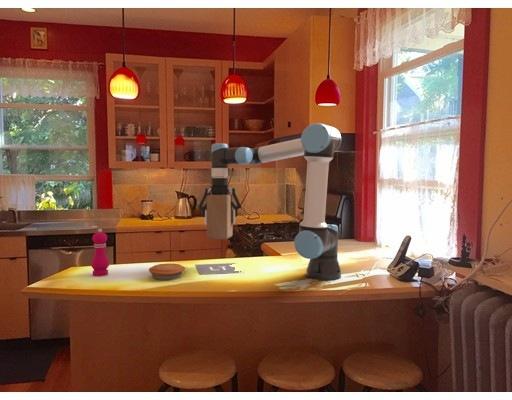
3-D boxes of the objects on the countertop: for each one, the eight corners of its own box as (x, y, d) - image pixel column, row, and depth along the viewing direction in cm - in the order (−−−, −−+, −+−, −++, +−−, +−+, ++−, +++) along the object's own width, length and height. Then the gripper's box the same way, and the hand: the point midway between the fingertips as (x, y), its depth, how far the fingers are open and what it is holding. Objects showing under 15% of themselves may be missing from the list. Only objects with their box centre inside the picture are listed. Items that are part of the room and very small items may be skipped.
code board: (244, 272, 191) (244, 272, 191) (199, 274, 186) (199, 274, 186) (235, 263, 210) (235, 263, 210) (195, 264, 205) (195, 264, 205)
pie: (146, 274, 186) (146, 263, 186) (181, 271, 192) (181, 260, 191) (151, 283, 172) (151, 270, 171) (189, 279, 177) (189, 268, 177)
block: (227, 239, 191) (227, 195, 190) (206, 239, 193) (205, 195, 192) (233, 236, 201) (232, 194, 200) (212, 235, 203) (212, 194, 202)
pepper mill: (92, 277, 179) (91, 230, 178) (90, 273, 185) (89, 228, 184) (110, 275, 182) (109, 229, 181) (107, 272, 189) (107, 227, 187)
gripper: (244, 177, 202) (244, 222, 203) (192, 177, 196) (192, 223, 197) (247, 177, 195) (247, 224, 196) (193, 177, 189) (193, 225, 190)
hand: (219, 224), depth 197 cm, fingers closed on block, 12 cm apart
